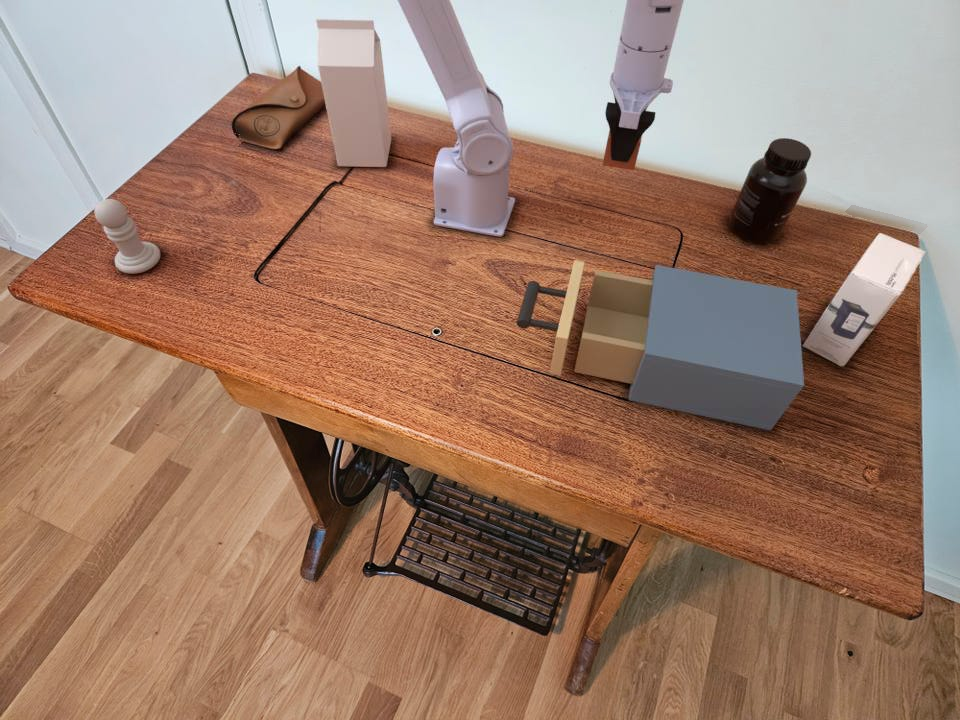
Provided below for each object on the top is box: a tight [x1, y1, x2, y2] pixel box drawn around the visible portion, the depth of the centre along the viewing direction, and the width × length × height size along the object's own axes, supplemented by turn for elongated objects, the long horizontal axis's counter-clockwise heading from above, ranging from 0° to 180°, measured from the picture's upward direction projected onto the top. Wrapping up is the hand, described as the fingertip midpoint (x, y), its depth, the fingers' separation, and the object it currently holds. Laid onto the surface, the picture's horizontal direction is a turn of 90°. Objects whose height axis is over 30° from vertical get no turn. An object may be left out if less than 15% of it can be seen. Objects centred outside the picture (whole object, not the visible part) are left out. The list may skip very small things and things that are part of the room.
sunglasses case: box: [231, 65, 326, 150], centre depth 97 cm, size 18×7×7 cm
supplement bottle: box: [728, 137, 812, 244], centre depth 78 cm, size 7×7×12 cm
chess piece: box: [93, 198, 161, 275], centre depth 74 cm, size 5×5×9 cm
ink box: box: [802, 232, 927, 367], centre depth 67 cm, size 8×5×12 cm, turn 140°
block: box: [602, 129, 643, 171], centre depth 78 cm, size 4×4×4 cm
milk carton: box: [315, 18, 392, 168], centre depth 84 cm, size 7×7×19 cm
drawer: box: [516, 259, 653, 385], centre depth 67 cm, size 18×11×6 cm, turn 76°
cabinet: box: [628, 264, 805, 431], centre depth 65 cm, size 15×13×8 cm
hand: (621, 149), depth 78 cm, fingers closed on block, 4 cm apart
